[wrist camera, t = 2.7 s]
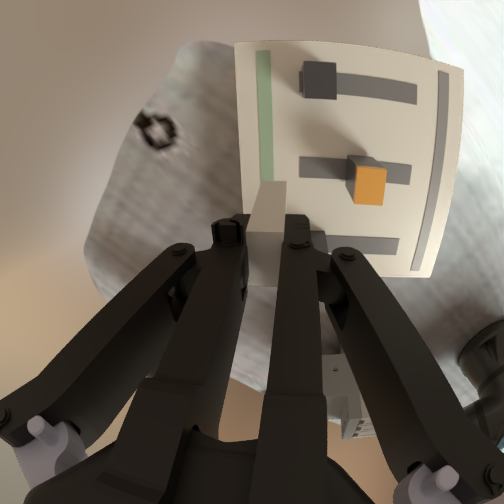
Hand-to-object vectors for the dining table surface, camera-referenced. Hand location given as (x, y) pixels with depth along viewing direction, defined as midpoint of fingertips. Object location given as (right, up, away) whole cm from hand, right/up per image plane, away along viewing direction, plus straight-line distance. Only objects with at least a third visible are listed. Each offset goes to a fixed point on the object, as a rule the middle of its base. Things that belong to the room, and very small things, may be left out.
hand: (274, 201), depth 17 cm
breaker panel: (+9, +7, +11) cm, 16 cm away
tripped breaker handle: (+8, +4, +7) cm, 12 cm away
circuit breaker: (+14, -19, +27) cm, 36 cm away
